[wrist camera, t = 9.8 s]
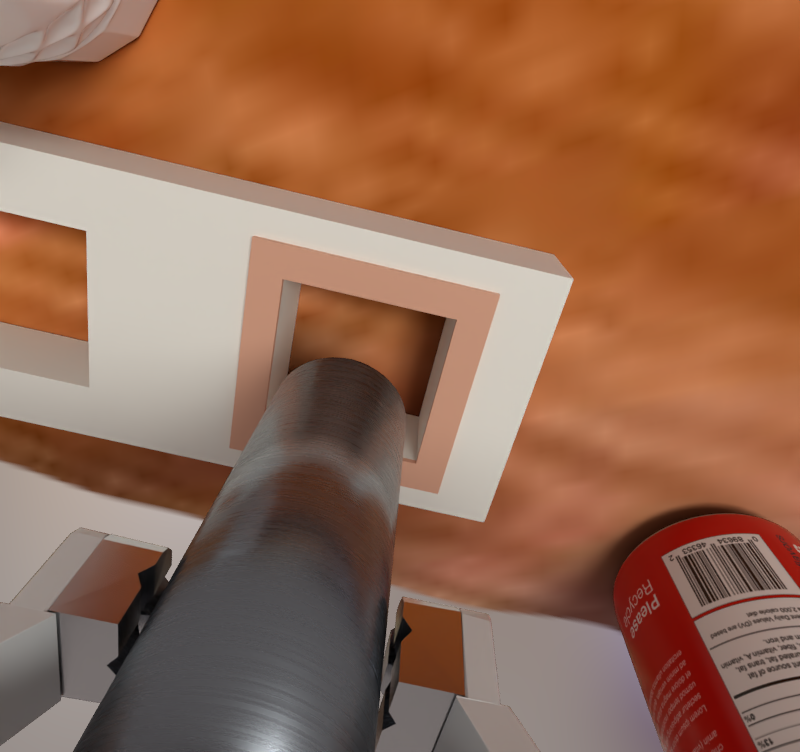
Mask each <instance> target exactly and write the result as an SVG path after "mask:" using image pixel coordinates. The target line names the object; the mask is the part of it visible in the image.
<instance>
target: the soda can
mask: <svg viewBox="0 0 800 752" xmlns="http://www.w3.org/2000/svg"><path fill="white" fill-rule="evenodd" d="M613 603H614V608H615V613H616V617H617V620H618V623H619V626H620V629H621V632H622V635H623V638H624V640H625V643H626V646H627V649H628V652H629V655H630V657H631V660H632V663H633V666H634V669H635V672H636V674H637V677H638V680H639V683H640V686H641V689H642V692H643V694H644V697H645V700H646V703H647V706H648V709H649V711H650V714H651V717H652V720H653V723H654V726H655V729H656V731H657V734H658V737H659V740H660V742H661V746H662V748H663V751H664V752H800V540H799V539H798V538H796V537H795V536H794V535H793V534H792V533H791V532H789V531H788V530H786V529H785V528H783V527H782V526H780V525H778V524H776V523H773V522H771V521H768V520H765V519H762V518H759V517H755V516H750V515H744V514H734V513H719V514H708V515H702V516H697V517H692V518H689V519H685V520H682V521H679V522H676V523H674V524H672V525H669V526H667V527H665V528H663V529H661V530H659V531H657V532H656V533H654V534H653V535H651V536H650V537H648V538H647V539H645V540H644V541H643V542H642V543H640V544H639V545H638V546H637V547H636V548H635V549H634V550H633V551H632V552H631V553H630V554H629V556H628V557H627V558H626V560H625V561H624V563H623V564H622V566H621V568H620V570H619V572H618V574H617V577H616V580H615V583H614V588H613Z"/></svg>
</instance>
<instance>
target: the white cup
mask: <svg viewBox="0 0 800 752" xmlns="http://www.w3.org/2000/svg"><path fill="white" fill-rule="evenodd" d="M156 2H157V0H0V66H24V65H27V64H29V63H32V62H40V61H46V62H99V61H101V60H102V59H104V58H105V57H107V56H109V55H110V54H112V53H113V52H115V51H117V50H118V49H120V48H121V47H123V46H125V45H126V44H128V43H129V42H131V41H133V40H134V39H136V38H137V37H139V36H140V34H141V32H142V30H143V28H144V26H145V24H146V22H147V20H148V18H149V16H150V14H151V12H152V10H153V8H154V6H155V4H156Z"/></svg>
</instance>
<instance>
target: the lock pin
mask: <svg viewBox="0 0 800 752" xmlns="http://www.w3.org/2000/svg"><path fill="white" fill-rule="evenodd" d="M405 430H406V413H405V408H404V404H403V402H402V399H401V397H400V395H399V393H398V392H397V390H396V388H395V387H394V386H393V385H392V383H391V382H390V381H389V380H388V379H387V378H386V377H385V376H384V375H382V374H381V373H380V372H378V371H377V370H375V369H374V368H372V367H370V366H368V365H366V364H364V363H361V362H358V361H355V360H352V359H346V358H334V357H332V358H322V359H317V360H313V361H310V362H308V363H305V364H303V365H301V366H299V367H298V368H296V369H295V370H293V371H292V372H291V373H290V374H289V375H288V376H287V377H286V378H285V379H284V380H283V382H282V383H281V384H280V386H279V388H278V390H277V391H276V393H275V395H274V397H273V399H272V400H271V402H270V404H269V406H268V407H267V409H266V411H265V413H264V414H263V416H262V418H261V420H260V422H259V423H258V425H257V427H256V429H255V430H254V432H253V434H252V436H251V437H250V439H249V441H248V443H247V445H246V446H245V448H244V450H243V452H242V453H241V455H240V457H239V459H238V460H237V462H236V464H235V466H234V468H233V469H232V471H231V473H230V475H229V476H228V478H227V480H226V482H225V483H224V485H223V487H222V489H221V491H220V492H219V494H218V496H217V498H216V499H215V501H214V503H213V505H212V506H211V508H210V510H209V512H208V514H207V515H206V517H205V519H204V521H203V522H202V524H201V526H200V528H199V530H198V531H197V533H196V535H195V537H194V538H193V540H192V542H191V544H190V545H189V547H188V549H187V551H186V553H185V554H184V556H183V558H182V560H181V561H180V563H179V565H178V567H177V568H176V570H175V572H174V574H173V576H172V577H171V579H170V581H169V583H168V584H167V586H166V588H165V590H164V591H163V593H162V595H161V597H160V599H159V600H158V602H157V604H156V606H155V607H154V609H153V611H152V613H151V614H150V616H149V618H148V620H147V622H146V623H145V625H144V627H143V629H142V630H141V632H140V634H139V636H138V637H137V639H136V641H135V643H134V645H133V646H132V648H131V650H130V652H129V653H128V655H127V657H126V659H125V660H124V662H123V664H122V666H121V668H120V669H119V671H118V673H117V675H116V676H115V678H114V680H113V682H112V683H111V685H110V687H109V689H108V691H107V692H106V694H105V696H104V698H103V699H102V701H101V703H100V705H99V706H98V709H97V710H96V712H95V714H94V715H93V717H92V719H91V721H90V723H89V724H88V726H87V728H86V730H85V731H84V733H83V735H82V737H81V738H80V740H79V742H78V744H77V745H76V747H75V749H74V751H73V752H375V742H376V731H377V721H378V711H379V700H380V690H381V680H382V669H383V659H384V648H385V638H386V628H387V616H388V607H389V596H390V586H391V576H392V565H393V555H394V545H395V534H396V524H397V514H398V503H399V493H400V482H401V472H402V462H403V451H404V441H405Z"/></svg>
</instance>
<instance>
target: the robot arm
mask: <svg viewBox="0 0 800 752" xmlns="http://www.w3.org/2000/svg"><path fill="white" fill-rule="evenodd" d="M171 562H172V550H171V549H169V548H167V547H163V546H159V545H154V544H150V543H146V542H142V541H137V540H133V539H129V538H125V537H121V536H117V535H112V534H106V533H102V532H97V531H93V530H89V529H85V528H79V529H77V530H75V531H74V532H72V533H70V535H69V536H68V537H67V538H66V539H65V540H64V542H63V543H62V544H61V545H60V546H59V547H58V548H57V549H56V551H55V552H54V553H53V554H52V555H51V557H49V559H48V560H47V561H46V562H45V563H44V564H43V566H42V567H41V568H40V569H39V570H38V571H37V573H36V574H35V575H34V576H33V577H32V578H31V580H30V581H29V582H28V583H27V584H26V585H25V586H24V587H23V589H22V590H21V591H20V592H19V593H18V594H17V596H16V597H15V598H14V599H13V600H12V601H11V602H10V603H9V604H7V603H2V602H0V746H1V745H2V744H3V743H5V742H6V741H7V740H9V739H10V738H11V737H13V736H14V735H15V734H17V733H18V732H19V731H21V730H22V729H23V728H25V727H26V726H27V725H28V724H30V723H31V722H33V721H34V720H35V719H36V718H38V717H39V716H41V715H42V714H43V713H45V712H46V711H47V710H49V709H50V708H51V707H53V706H54V705H55V704H57V703H58V702H59V701H60V700H61V697H67V698H74V699H79V700H85V701H91V702H97V703H101V701H102V699H103V698H104V696H105V694H106V692H107V691H108V689H109V687H110V685H111V683H112V682H113V680H114V678H115V676H116V675H117V673H118V671H119V669H120V668H121V666H122V664H123V662H124V660H125V659H126V657H127V655H128V653H129V652H130V650H131V648H132V646H133V645H134V643H135V641H136V639H137V637H138V636H139V634H140V632H141V630H142V629H143V627H144V625H145V623H146V622H147V620H148V618H149V616H150V614H151V613H152V611H153V609H154V607H155V606H156V604H157V602H158V600H159V599H160V597H161V595H162V593H163V591H164V590H165V588H166V586H167V584H168V583H169V582H168V581H167V579H166V578H165V575H166V574H167V572H168V570H169V568H170V567H171ZM381 692H382V694H383V695H384V696H383V699H382V702H381V705H380V708H379V712H378V721H377V731H376V742H375V752H540V750H539V749H538V747H537V746H536V744H535V743H534V741H533V740H532V738H531V737H530V736H529V734H528V733H527V731H526V730H525V728H524V727H523V725H522V724H521V723H520V721H519V720H518V718H517V717H516V715H515V714H514V712H513V711H512V709H511V708H510V707H509V706H505V705H501V704H500V695H499V687H498V678H497V668H496V659H495V652H494V642H493V633H492V624H491V619H490V617H489V615H488V614H486V613H481V612H476V611H471V610H466V609H461V608H460V609H458V608H457V607H452V606H447V605H442V604H437V603H432V602H427V601H422V600H416V599H412V598H407V597H402V599H401V601H400V603H399V606H398V609H397V613H396V624H395V628H394V629H392V630H391V632H390V636H389V639H388V643H387V647H386V651H385V656H384V660H383V669H382V680H381Z"/></svg>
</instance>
